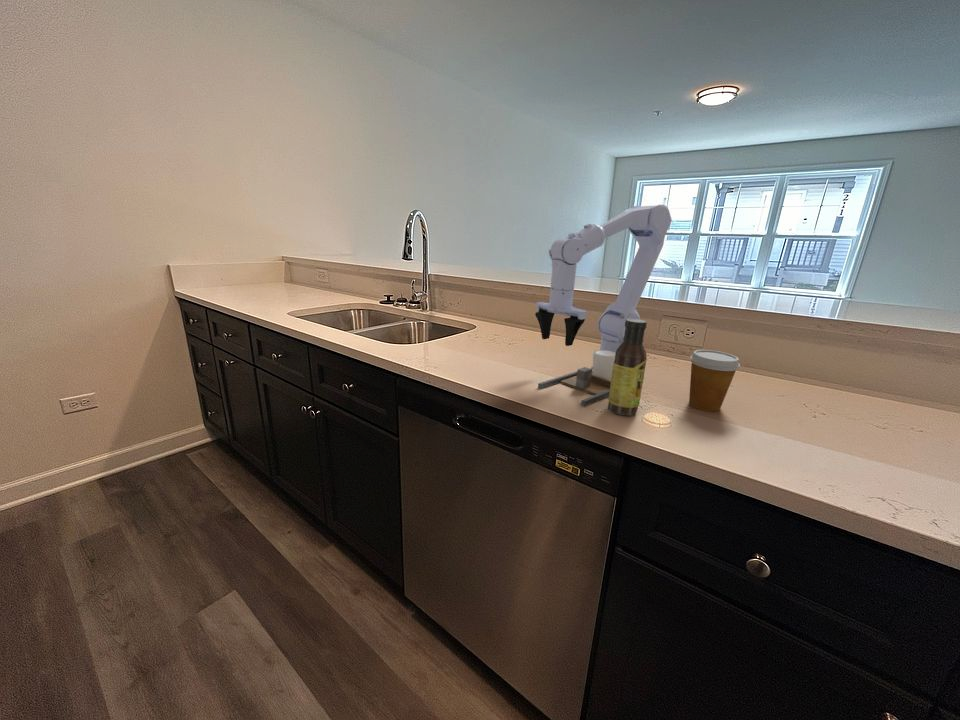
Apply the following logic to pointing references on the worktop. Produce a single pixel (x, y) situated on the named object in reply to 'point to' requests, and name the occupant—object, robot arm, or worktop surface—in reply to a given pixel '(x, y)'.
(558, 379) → the lane rails
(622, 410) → the sauce bottle
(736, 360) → the disposable coffee cup
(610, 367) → the white cup
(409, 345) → the worktop surface
